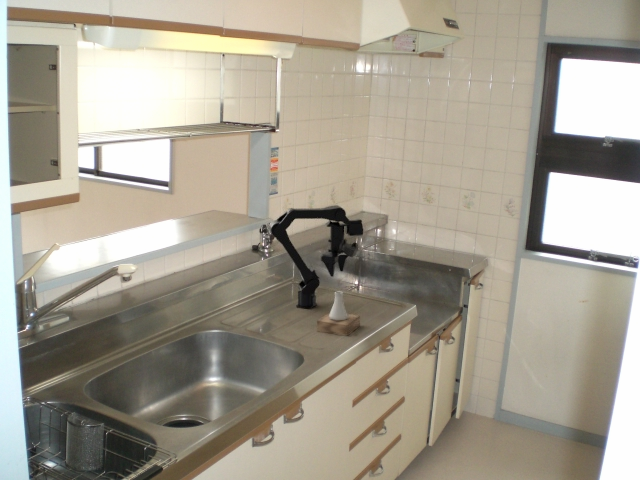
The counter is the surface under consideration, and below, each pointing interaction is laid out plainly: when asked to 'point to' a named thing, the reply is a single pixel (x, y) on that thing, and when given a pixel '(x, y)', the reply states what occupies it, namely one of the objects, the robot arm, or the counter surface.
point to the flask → (338, 308)
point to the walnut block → (338, 325)
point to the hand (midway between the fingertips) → (336, 273)
